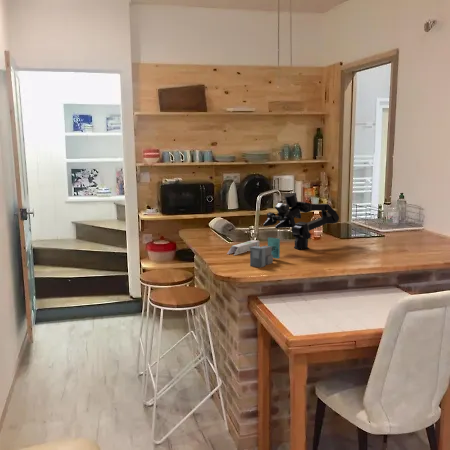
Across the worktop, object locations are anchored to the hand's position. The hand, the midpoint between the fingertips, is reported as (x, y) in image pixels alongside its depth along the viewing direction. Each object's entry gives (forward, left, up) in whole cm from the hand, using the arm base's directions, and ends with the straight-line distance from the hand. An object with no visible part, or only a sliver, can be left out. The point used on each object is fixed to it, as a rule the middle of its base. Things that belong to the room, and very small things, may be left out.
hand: (269, 226), depth 263 cm
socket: (+17, +22, -15) cm, 32 cm away
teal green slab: (+9, +16, -14) cm, 23 cm away
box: (+11, -12, -16) cm, 22 cm away
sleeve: (+11, +18, -15) cm, 26 cm away
